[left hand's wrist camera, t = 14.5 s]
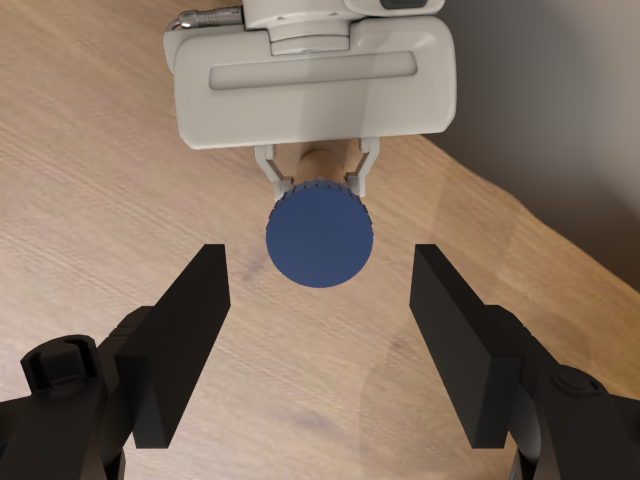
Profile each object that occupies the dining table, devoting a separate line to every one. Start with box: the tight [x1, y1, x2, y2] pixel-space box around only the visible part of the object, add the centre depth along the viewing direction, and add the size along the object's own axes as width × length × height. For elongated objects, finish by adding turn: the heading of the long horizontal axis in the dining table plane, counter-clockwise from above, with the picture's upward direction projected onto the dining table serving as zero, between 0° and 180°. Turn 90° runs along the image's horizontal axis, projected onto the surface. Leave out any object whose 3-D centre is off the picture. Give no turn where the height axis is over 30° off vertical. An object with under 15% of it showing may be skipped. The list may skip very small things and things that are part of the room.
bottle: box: [290, 150, 349, 189], centre depth 27 cm, size 4×4×18 cm
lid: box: [266, 179, 373, 288], centre depth 19 cm, size 6×6×2 cm
